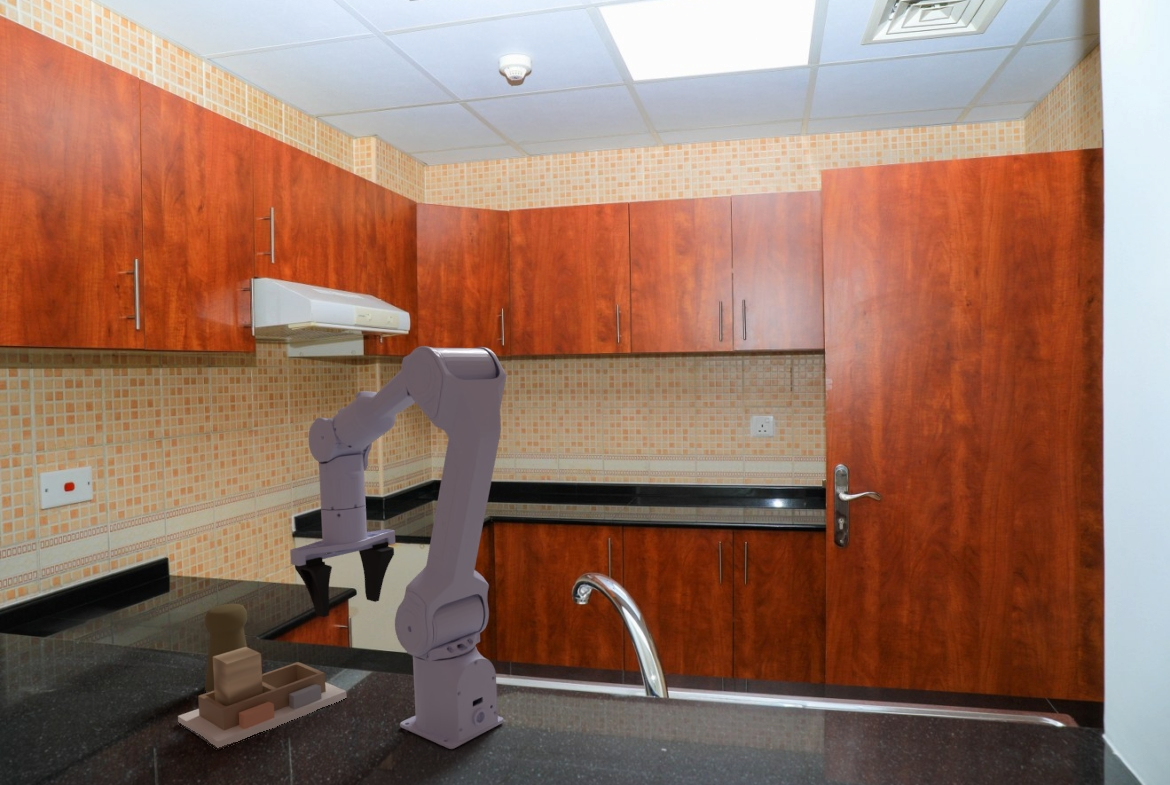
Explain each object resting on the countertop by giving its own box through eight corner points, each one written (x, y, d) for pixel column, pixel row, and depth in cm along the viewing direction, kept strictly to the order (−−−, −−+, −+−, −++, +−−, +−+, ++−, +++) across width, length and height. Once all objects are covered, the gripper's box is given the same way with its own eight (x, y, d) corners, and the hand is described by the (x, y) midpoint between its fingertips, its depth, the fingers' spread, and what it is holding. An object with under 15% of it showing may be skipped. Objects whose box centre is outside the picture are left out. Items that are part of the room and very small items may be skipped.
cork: (234, 696, 95) (230, 613, 95) (194, 694, 97) (190, 612, 97) (263, 678, 101) (259, 599, 101) (225, 676, 103) (221, 598, 102)
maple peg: (263, 710, 88) (260, 653, 88) (230, 723, 85) (227, 663, 85) (248, 702, 91) (245, 646, 91) (215, 714, 88) (212, 656, 88)
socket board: (346, 698, 93) (345, 672, 93) (218, 750, 81) (216, 720, 81) (302, 679, 100) (301, 654, 100) (178, 724, 88) (176, 696, 88)
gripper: (373, 496, 106) (377, 589, 106) (276, 513, 94) (281, 617, 95) (402, 500, 101) (406, 597, 101) (304, 517, 90) (309, 626, 90)
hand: (348, 607), depth 98 cm, fingers open, 7 cm apart
